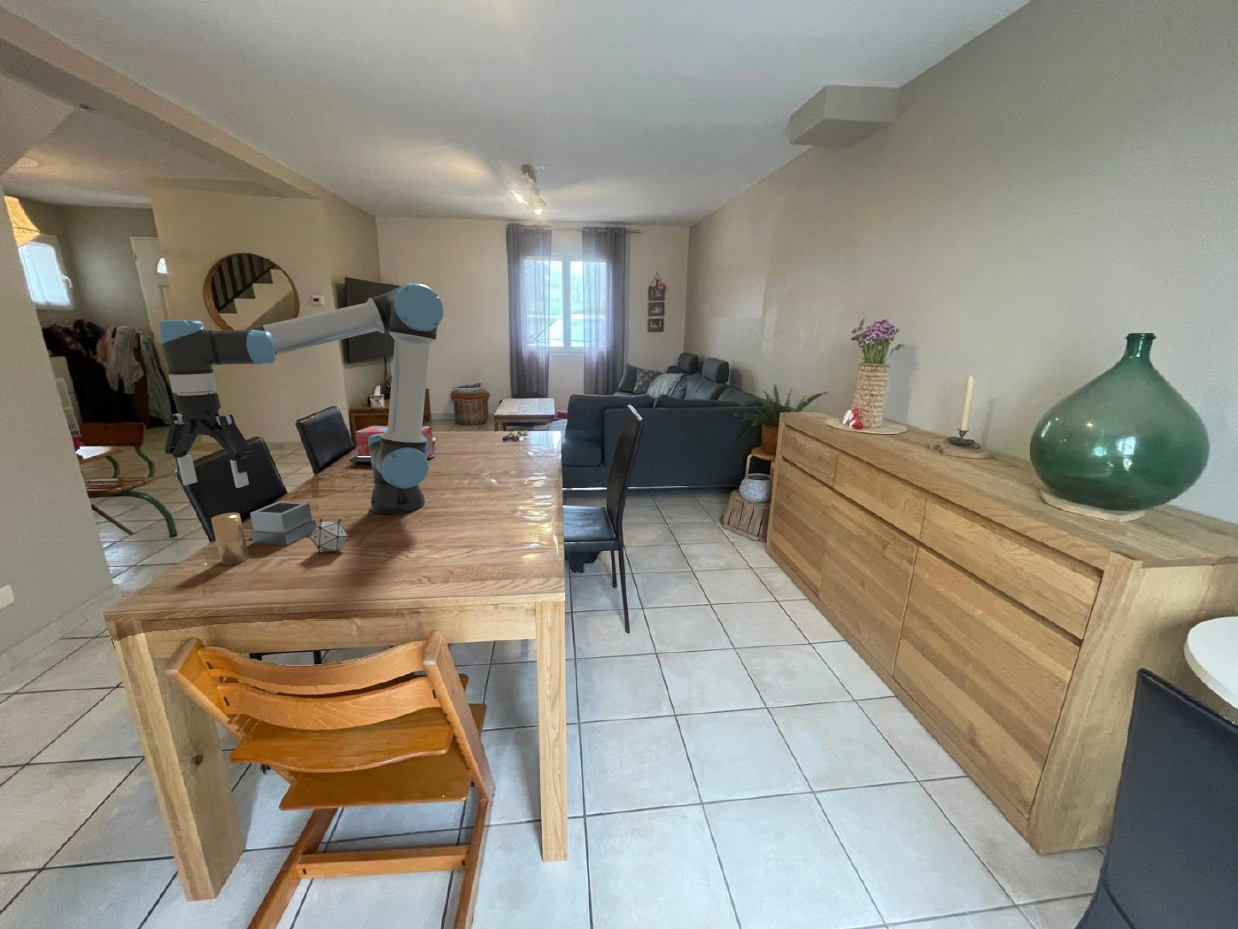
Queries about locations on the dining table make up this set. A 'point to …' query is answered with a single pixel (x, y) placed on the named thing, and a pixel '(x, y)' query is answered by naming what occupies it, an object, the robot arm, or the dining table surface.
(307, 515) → the open rectangular container
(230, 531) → the gold metallic cylinder
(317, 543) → the game die
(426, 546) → the dining table surface
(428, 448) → the box
